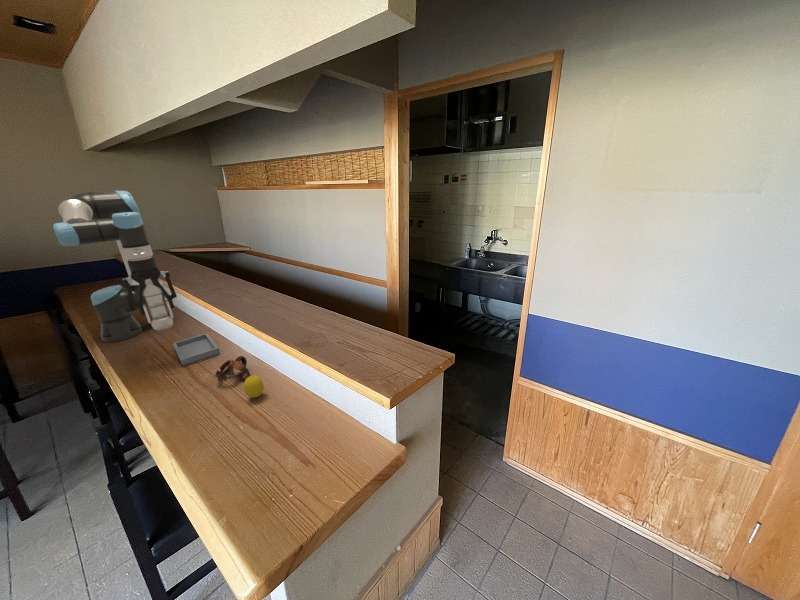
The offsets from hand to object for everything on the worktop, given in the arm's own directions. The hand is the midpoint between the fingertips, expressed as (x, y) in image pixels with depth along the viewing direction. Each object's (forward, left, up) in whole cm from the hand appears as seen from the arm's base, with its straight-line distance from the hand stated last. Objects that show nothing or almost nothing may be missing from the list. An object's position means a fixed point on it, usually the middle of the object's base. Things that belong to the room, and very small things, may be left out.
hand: (161, 319), depth 119 cm
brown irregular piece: (+29, +15, -19) cm, 38 cm away
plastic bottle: (0, 0, -4) cm, 4 cm away
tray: (-4, +8, -19) cm, 21 cm away
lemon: (+46, +16, -19) cm, 52 cm away
